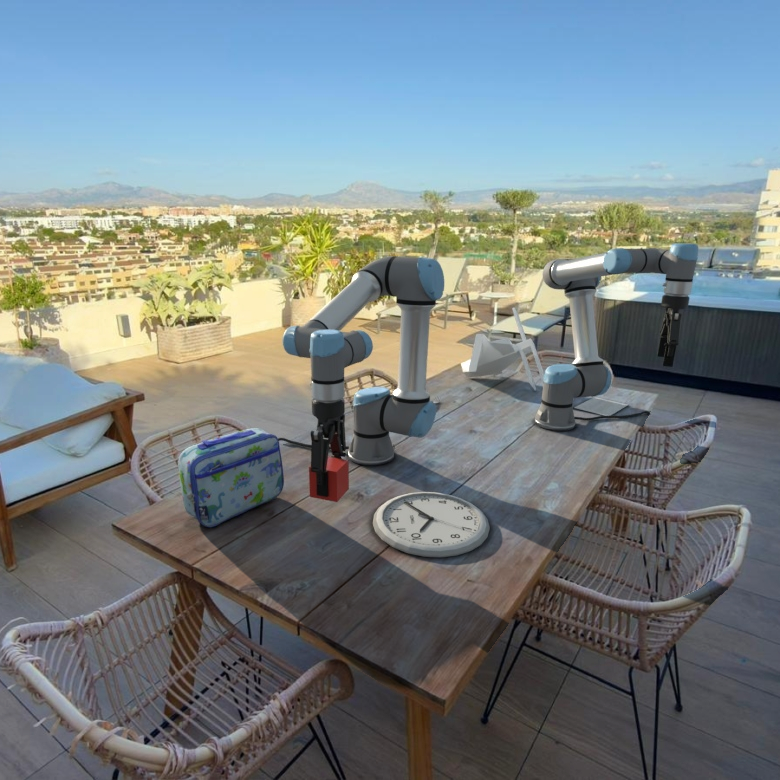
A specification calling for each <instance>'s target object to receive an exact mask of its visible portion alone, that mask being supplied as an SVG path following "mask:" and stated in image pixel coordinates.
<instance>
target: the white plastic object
mask: <svg viewBox="0 0 780 780" xmlns="http://www.w3.org/2000/svg"><path fill="white" fill-rule="evenodd" d="M511 310H512V314H513V316H514V319H515V322H516V325H517V328H518V331H519V334H520V338H521V341H520V342H517V343H513V342H512V341H511V339H510V338H509V337H505V338H500V339H495V340H490V339H489V338H488V337H487V336H486V334H485V333H476V334H475V338H474V342H473V347H472V351H471V356H470V359H468V360H466V361H463V362H461V363H460V366H461V371H462V373H463V374H464V376H465V377H466V378H477V377H484V376H493V377H495V376H498V375H502V374H503V371H504V370H505V369H507V368H509V367H510V366H511V365H512V364H515V362H517V361H518V360H520V359H521V361H522V364H523V367H524V370H525V373H526V377H527V379H528V382H529V384H530V387H532V389H533V390H534V391H537V390H536V389H537V387H536V383H535V380H534V376H533V373H532V370H531V368H530V365H529V362H528V358H527V355H528V354H531V353H532V355H533V357H534V362H535V364H536V367H537V371H538V374H539V376H540V379H541V382H542V384H543V383H544V380H543V378H544V375H545V371H544V369H543V366H542V362H541V360H540V356H539V355H538V351H537V347H536V344H535V343H534V341H533V339H532V338H530V337H529V338H527V337H526V334H525V331H524V327H523V325H522V322H521V318H520V315H519V313H518V311H517V309H516V307H512V308H511Z"/></svg>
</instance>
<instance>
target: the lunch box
mask: <svg viewBox="0 0 780 780" xmlns="http://www.w3.org/2000/svg"><path fill="white" fill-rule="evenodd" d="M278 438H279V437H278V436H277V435H275V434H272V433H268V432H267V431H265V430H263V429H262V428H260V427H259V428H257V427H253V428H252V427H251V428H247V429H243V430H238V431H235V432H232V433H228V434H225V435H221V436H218V437H215V438H211V439H208V440H202V441H201V442H199V443H197V444H193V445H190V446H188V447H186V448H185V449H184V450H182V452H181V453H180V454H179V457H178V461H177V468H178V476H179V483H180V484H179V485H180V490H181V496H182V502H183V507H184V510H185V512H186V513H187V514H188V515H190V517H193V518H194V519H196V520H197V522H199V524H201V526H203V527H206V528H213V527H214V528H215V527H216V526H219V525H220V524H222V523H224V522H226V521H228V520H230V519H232V518H234V517H237V516H239V515H241V514H243V513H246V512H247V511H249V510H252V509H254V508H256V507H258V506H260V505H263V504H266V503H268V502H271V501H272V500H274V499H276V498H277V497H279V496H280V495H281V493H282V491H283V489H284V485H285V477H284V469H283V468H284V466H283V459H282V452H281V446H280V441H279V440H278Z"/></svg>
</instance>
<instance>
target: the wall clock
mask: <svg viewBox="0 0 780 780" xmlns="http://www.w3.org/2000/svg"><path fill="white" fill-rule="evenodd" d="M372 526H373V529H374V532H375V534H376V535H377V536H378V537H379V538H380V539H381V540H382V542H384V543H386V544H387V545H389V546H390V547H392V548H393V549H396V550H398V551H401V552H404V553H406V554H409V555H414V556H420V557H427V558H447V557H455V556H460V555H463V554H466V553H469V552H471V551H473V550H476V549H477V548H478V547H480V546H481V545H483V544H484V542H485V541H486V540H487V538H488V537H489V533H490V523H489V519H488V517H487V516H486V515H485V513H484V512H483V511H482V510H481V509H480V508H478V507H477V506H476V505H474V504H473V503H471V502H469V501H468V500H465V499H463V498H461V497H459V496H455V495H451V494H449V493H441V492H432V491H418V492H409V493H405V494H401V495H398V496H395V497H393V498H390V499H388V500H386V501H385V502H384V503H383V504H382V505H380V506H379V507H378V508H377V510H376V511H375V512H374V514H373V519H372Z"/></svg>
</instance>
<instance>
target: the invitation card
mask: <svg viewBox="0 0 780 780" xmlns="http://www.w3.org/2000/svg"><path fill="white" fill-rule="evenodd" d="M628 406H629V404H627V403H623V402H618V401H614V400H609V399H605V398H601V397H598V396H595V397H594V396H593V397H592V398H590V399H588V400H586V401H584V402H582V403H580V404H578V405H575V406H574V407H573V409H575V410H581V411H584V412H587V413H593V414H596V415H599V416H614V414H616V413H617V412H619V411H621V410H623V409H624V408H626V407H628Z"/></svg>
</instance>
